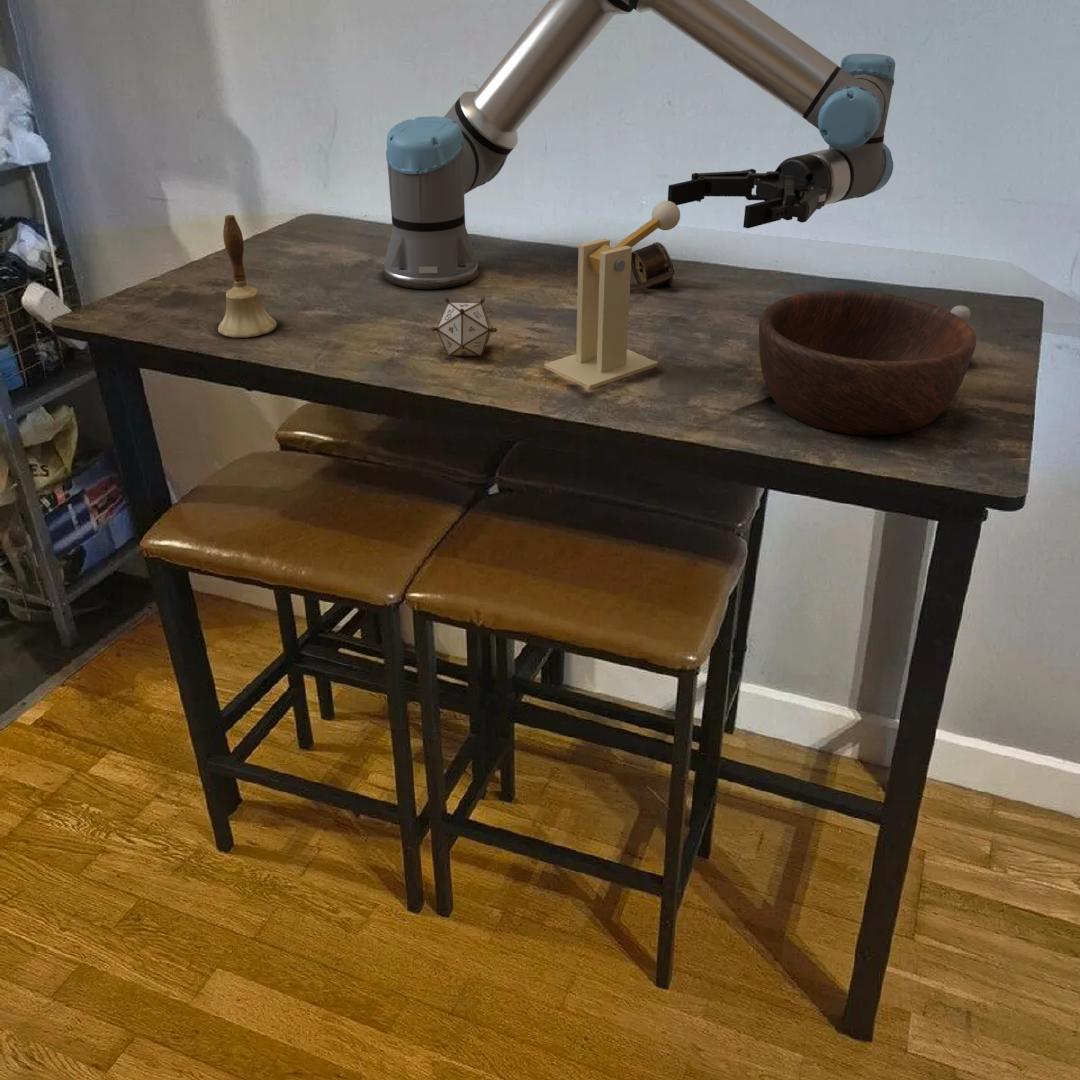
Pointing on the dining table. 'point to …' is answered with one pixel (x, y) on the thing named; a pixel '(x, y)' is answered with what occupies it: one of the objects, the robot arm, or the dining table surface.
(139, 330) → the dining table surface
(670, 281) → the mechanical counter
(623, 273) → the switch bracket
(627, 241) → the lever
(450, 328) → the game die
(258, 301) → the hand bell
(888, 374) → the wooden bowl
